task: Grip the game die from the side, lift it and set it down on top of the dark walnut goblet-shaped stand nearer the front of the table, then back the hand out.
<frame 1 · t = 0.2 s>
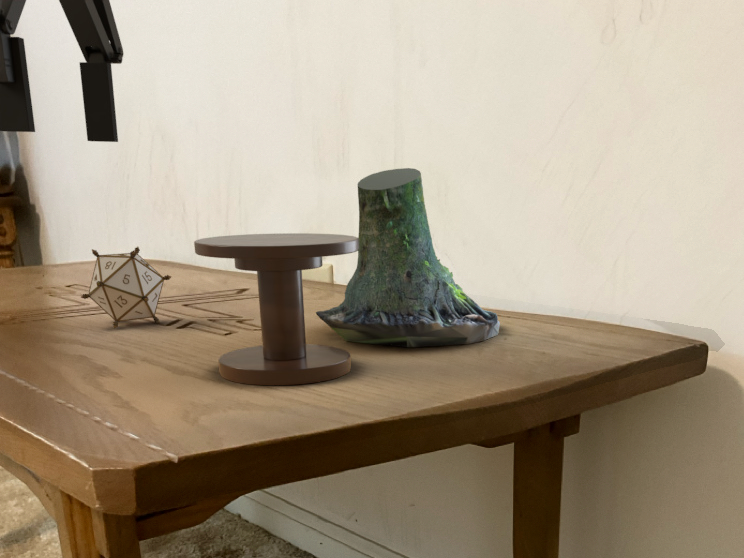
hand: (63, 137, 74), 18 cm above the table, tool pointing down, fingers open, 13 cm apart
tree stump: (411, 336, 87), on the table
goblet stand: (285, 370, 72), on the table
game die: (131, 326, 94), on the table
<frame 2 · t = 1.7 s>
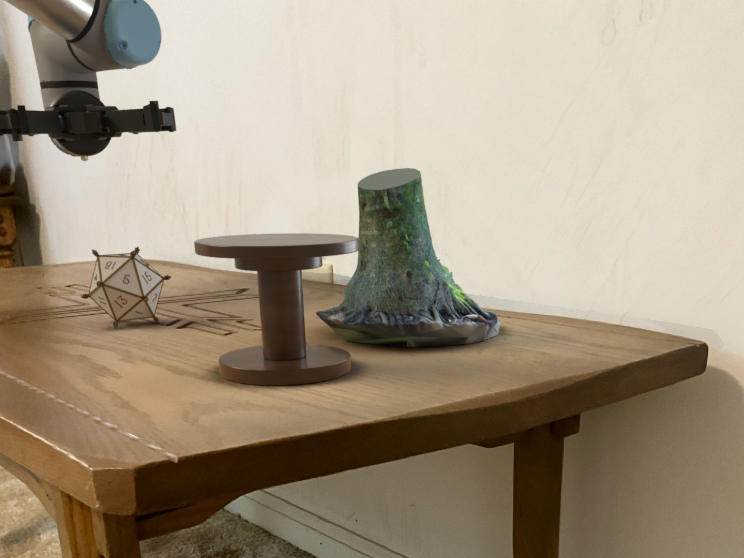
hand: (91, 118, 92), 21 cm above the table, tool horizontal, fingers open, 13 cm apart
nothing on the table moved.
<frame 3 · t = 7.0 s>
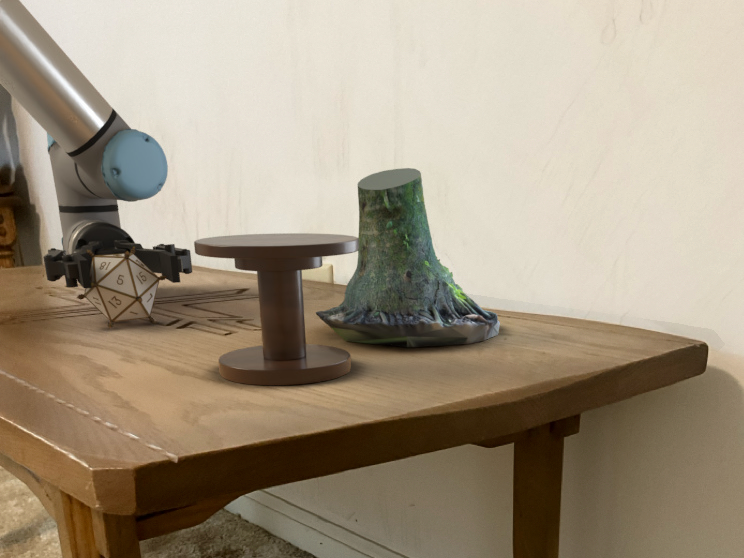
hand: (131, 271, 87), 6 cm above the table, tool horizontal, fingers closed on game die, 8 cm apart
game die: (127, 326, 94), on the table, touching gripper
everything else where it was.
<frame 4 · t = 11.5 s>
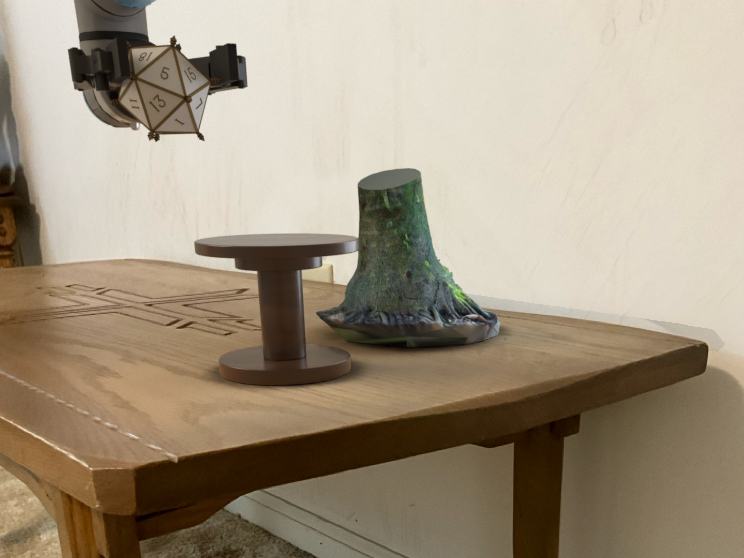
hand: (179, 59, 70), 24 cm above the table, tool horizontal, fingers closed on game die, 8 cm apart
game die: (170, 144, 76), point 18 cm above the table, touching gripper
everything else where it was.
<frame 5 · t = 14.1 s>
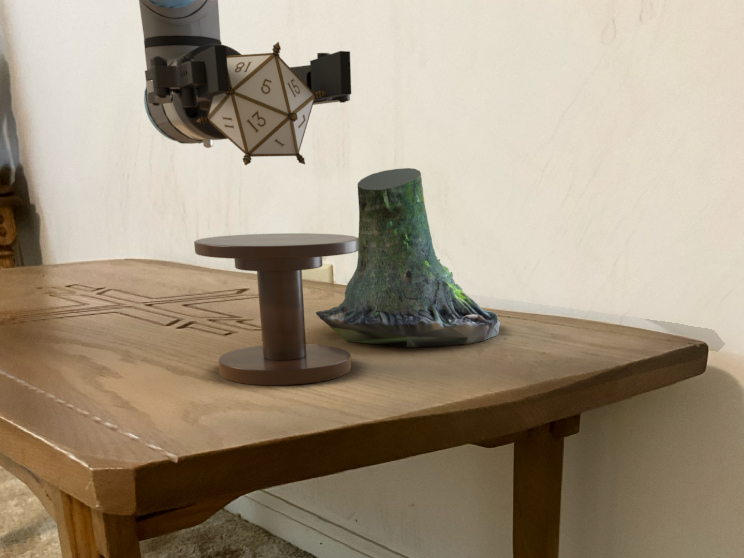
hand: (285, 70, 59), 22 cm above the table, tool horizontal, fingers closed on game die, 8 cm apart
game die: (265, 168, 65), point 16 cm above the table, touching gripper
everything else where it was.
when the fingers open (17 cm above the table, at t = 16.1 s): game die stays where it is, resting on goblet stand.
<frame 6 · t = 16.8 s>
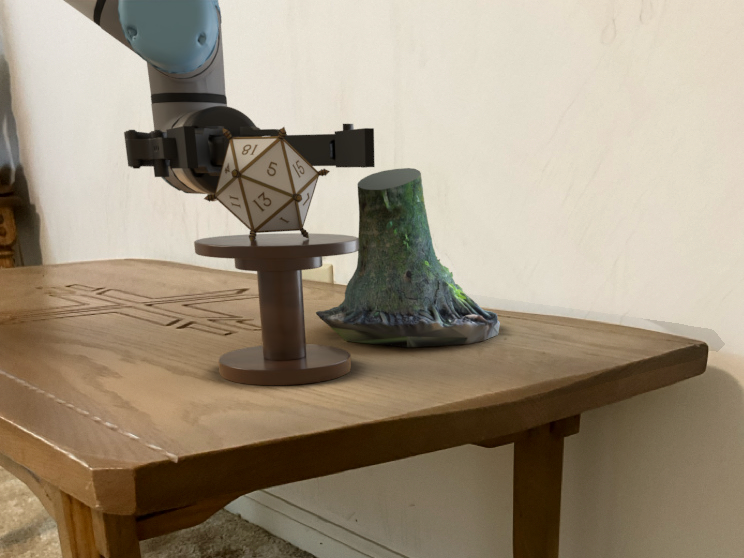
hand: (284, 147, 62), 17 cm above the table, tool horizontal, fingers open, 13 cm apart
game die: (270, 242, 67), point 10 cm above the table, touching goblet stand
everything else where it was.
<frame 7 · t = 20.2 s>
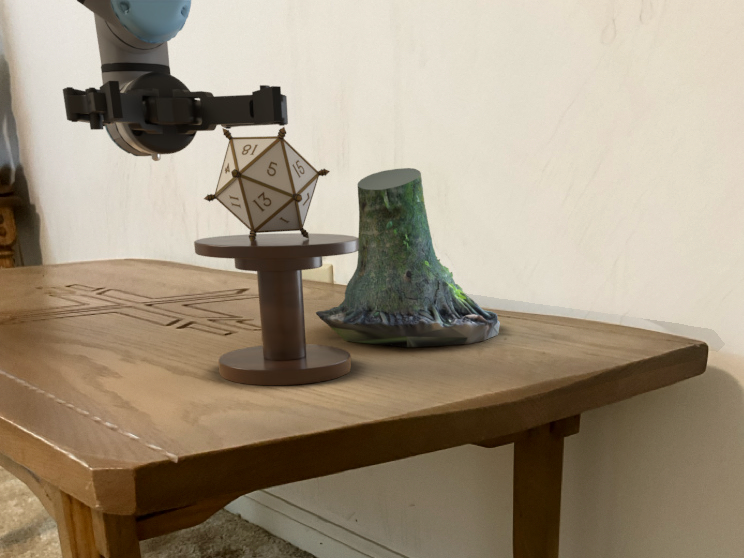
hand: (199, 101, 72), 21 cm above the table, tool horizontal, fingers open, 13 cm apart
nothing on the table moved.
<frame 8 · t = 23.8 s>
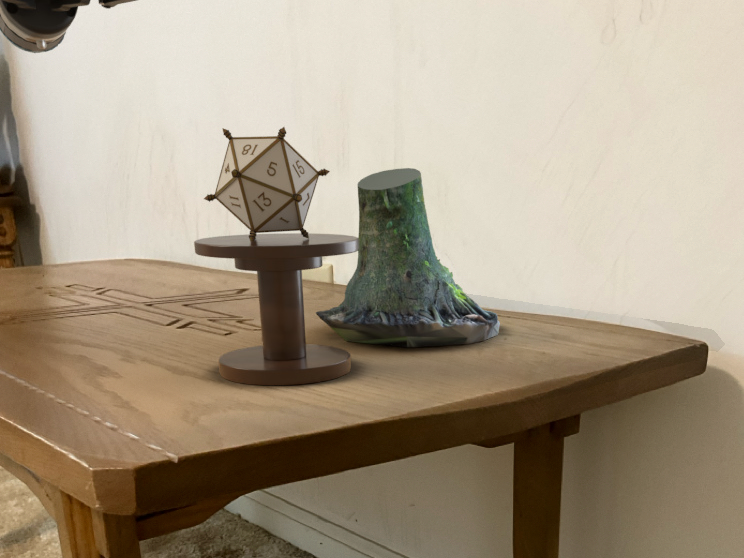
nothing on the table moved.
at the end: game die inside the target area on the goblet stand (0.6 cm from its centre), point 10.3 cm above the goblet stand's base; game die tilted 2°; the gripper is holding nothing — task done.
